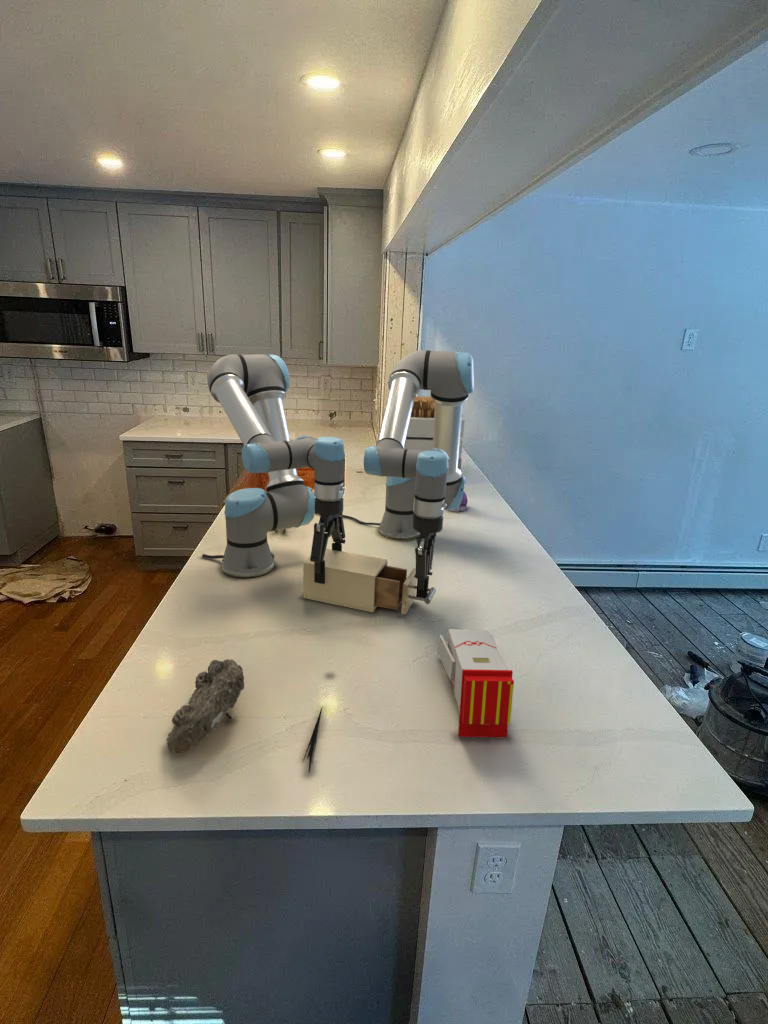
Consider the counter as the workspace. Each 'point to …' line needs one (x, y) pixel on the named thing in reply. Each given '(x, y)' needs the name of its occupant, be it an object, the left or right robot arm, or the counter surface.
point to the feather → (313, 740)
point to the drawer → (398, 589)
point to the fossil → (206, 705)
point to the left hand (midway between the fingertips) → (328, 573)
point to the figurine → (462, 502)
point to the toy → (478, 682)
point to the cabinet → (344, 580)
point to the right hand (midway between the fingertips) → (421, 598)
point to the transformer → (425, 427)
